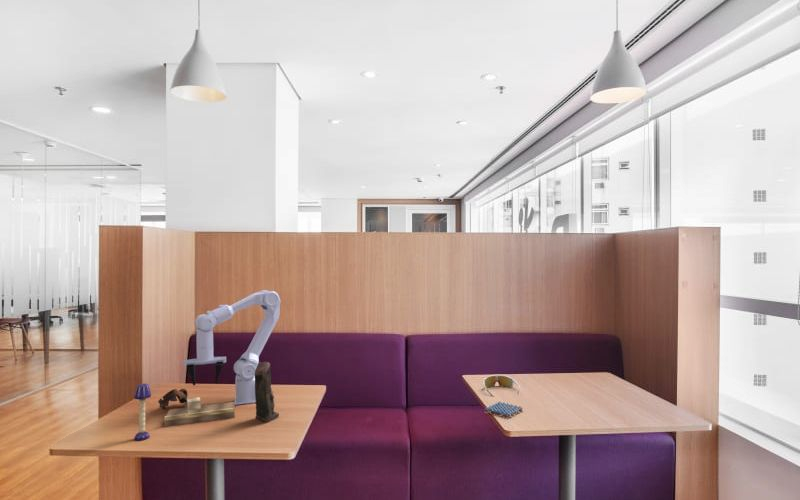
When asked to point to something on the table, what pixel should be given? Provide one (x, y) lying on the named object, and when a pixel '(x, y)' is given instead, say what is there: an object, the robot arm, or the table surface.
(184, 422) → the walnut board
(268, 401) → the statue
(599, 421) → the table surface
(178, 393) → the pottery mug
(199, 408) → the wooden mallet
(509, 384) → the sunglasses
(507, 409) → the woven mat
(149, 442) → the table surface
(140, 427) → the toy lamp
